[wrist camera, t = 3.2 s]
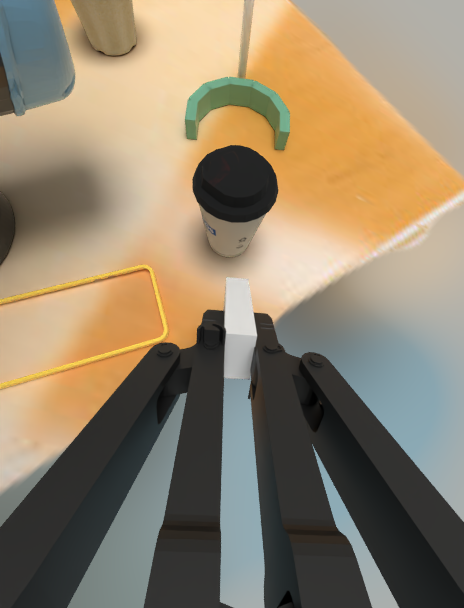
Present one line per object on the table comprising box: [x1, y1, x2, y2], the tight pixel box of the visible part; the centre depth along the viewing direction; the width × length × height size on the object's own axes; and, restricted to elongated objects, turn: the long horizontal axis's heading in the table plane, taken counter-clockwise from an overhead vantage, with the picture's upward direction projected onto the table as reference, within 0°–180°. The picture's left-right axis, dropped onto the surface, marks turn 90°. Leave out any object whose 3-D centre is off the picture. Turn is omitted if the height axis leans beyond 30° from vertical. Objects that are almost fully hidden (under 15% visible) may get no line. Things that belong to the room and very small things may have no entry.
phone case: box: [0, 265, 169, 389], centre depth 25 cm, size 8×17×1 cm, turn 107°
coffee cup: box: [193, 145, 278, 257], centre depth 24 cm, size 7×7×10 cm
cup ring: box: [185, 77, 290, 150], centre depth 32 cm, size 12×8×2 cm, turn 86°
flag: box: [238, 0, 254, 79], centre depth 26 cm, size 6×1×17 cm, turn 86°
